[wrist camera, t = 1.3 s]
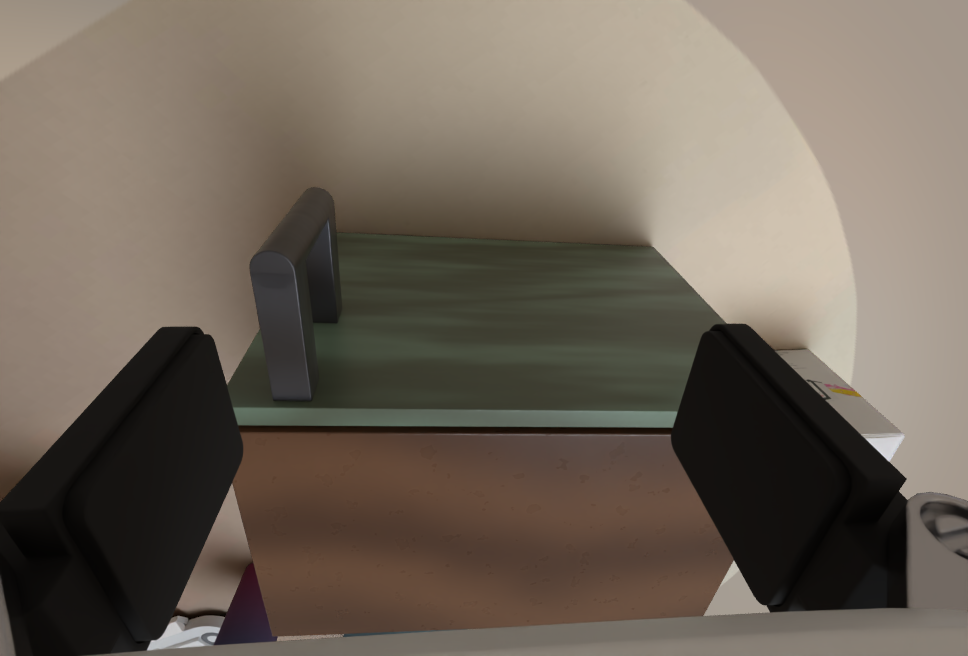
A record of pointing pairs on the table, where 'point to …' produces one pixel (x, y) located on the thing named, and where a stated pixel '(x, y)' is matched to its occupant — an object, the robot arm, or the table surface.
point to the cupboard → (472, 527)
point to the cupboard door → (462, 331)
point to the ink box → (845, 401)
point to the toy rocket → (189, 633)
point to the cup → (246, 614)
